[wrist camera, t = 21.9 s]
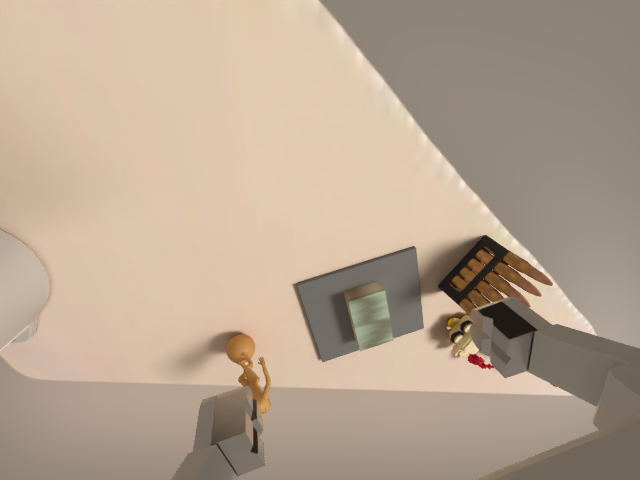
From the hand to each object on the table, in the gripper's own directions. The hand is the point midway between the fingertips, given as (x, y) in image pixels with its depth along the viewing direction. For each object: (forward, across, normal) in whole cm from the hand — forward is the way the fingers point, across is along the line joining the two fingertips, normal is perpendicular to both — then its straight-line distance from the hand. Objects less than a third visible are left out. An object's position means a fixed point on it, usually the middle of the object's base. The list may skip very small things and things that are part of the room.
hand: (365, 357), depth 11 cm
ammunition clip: (+29, -24, +21) cm, 43 cm away
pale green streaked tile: (+27, -7, +29) cm, 40 cm away
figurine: (+29, +12, +23) cm, 39 cm away
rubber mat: (+29, -7, +24) cm, 38 cm away
